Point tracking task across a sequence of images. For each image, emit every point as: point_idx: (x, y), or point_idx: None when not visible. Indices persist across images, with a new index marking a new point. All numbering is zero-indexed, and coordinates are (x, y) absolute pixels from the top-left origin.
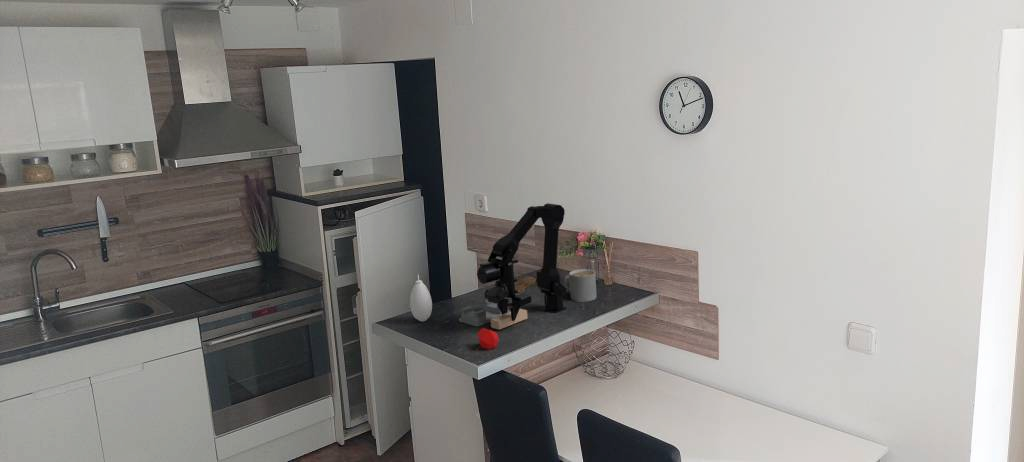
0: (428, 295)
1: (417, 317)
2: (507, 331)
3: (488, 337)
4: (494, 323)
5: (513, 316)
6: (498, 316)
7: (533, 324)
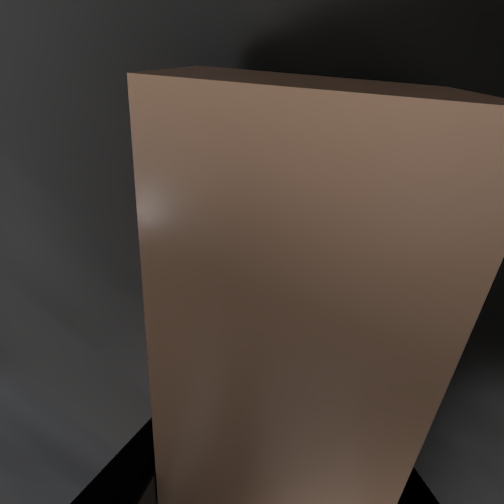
0: None
1: None
2: (81, 139)
3: None
4: (343, 86)
5: (100, 478)
6: (429, 394)
7: (49, 448)
